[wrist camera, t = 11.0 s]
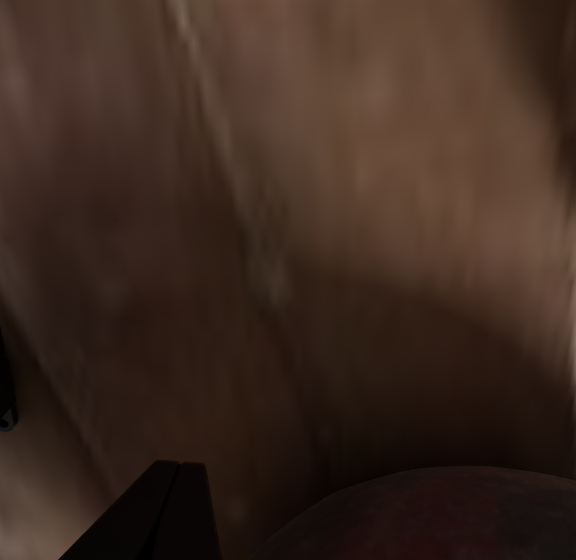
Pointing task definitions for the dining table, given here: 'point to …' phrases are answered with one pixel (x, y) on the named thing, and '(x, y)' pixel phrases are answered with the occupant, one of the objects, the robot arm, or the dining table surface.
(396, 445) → the dining table surface
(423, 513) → the jug
